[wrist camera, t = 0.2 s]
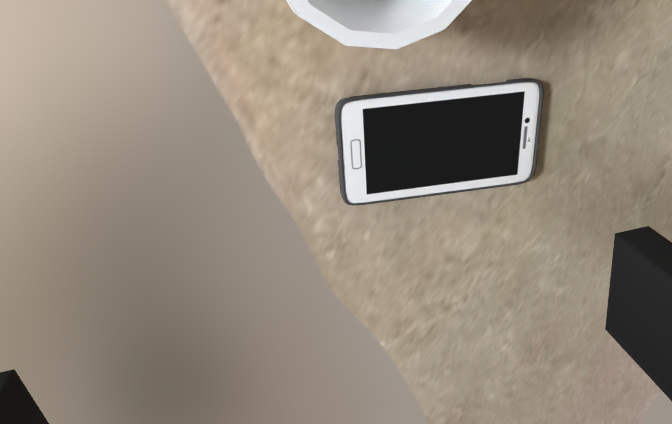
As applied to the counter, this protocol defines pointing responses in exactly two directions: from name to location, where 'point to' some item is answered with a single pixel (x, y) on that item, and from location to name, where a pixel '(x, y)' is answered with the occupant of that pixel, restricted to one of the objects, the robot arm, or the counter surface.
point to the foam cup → (378, 19)
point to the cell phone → (437, 140)
